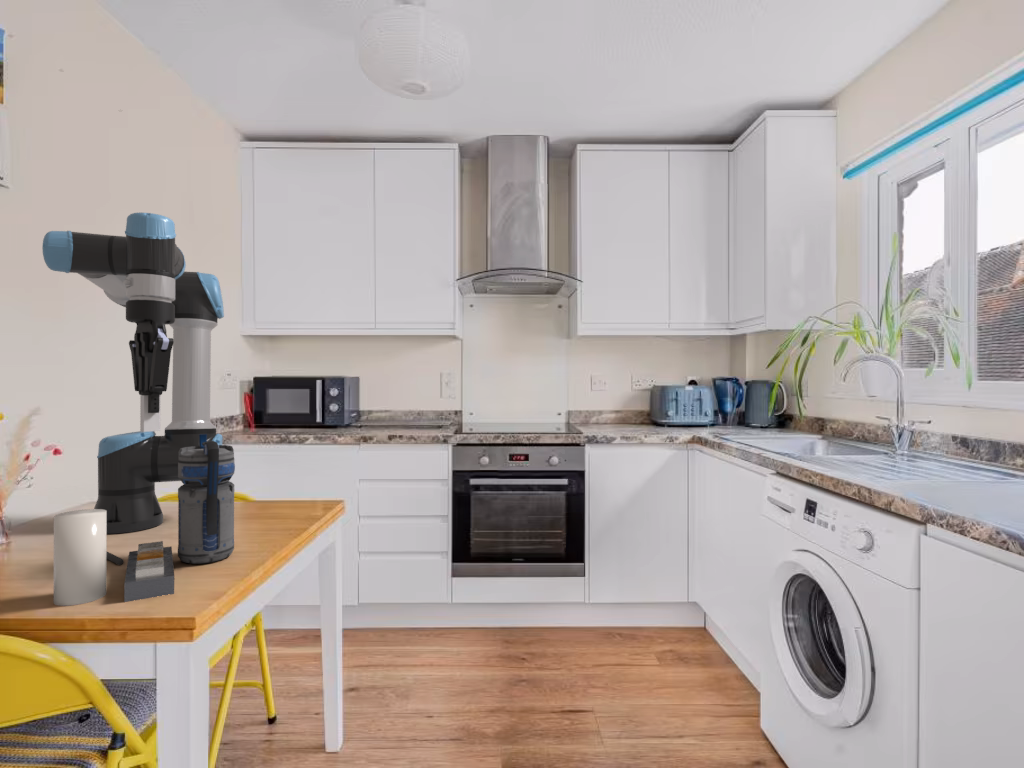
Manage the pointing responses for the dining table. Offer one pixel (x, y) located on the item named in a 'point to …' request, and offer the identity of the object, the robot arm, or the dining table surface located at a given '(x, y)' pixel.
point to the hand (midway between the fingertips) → (150, 431)
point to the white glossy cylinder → (80, 556)
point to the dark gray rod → (114, 558)
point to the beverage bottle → (205, 502)
